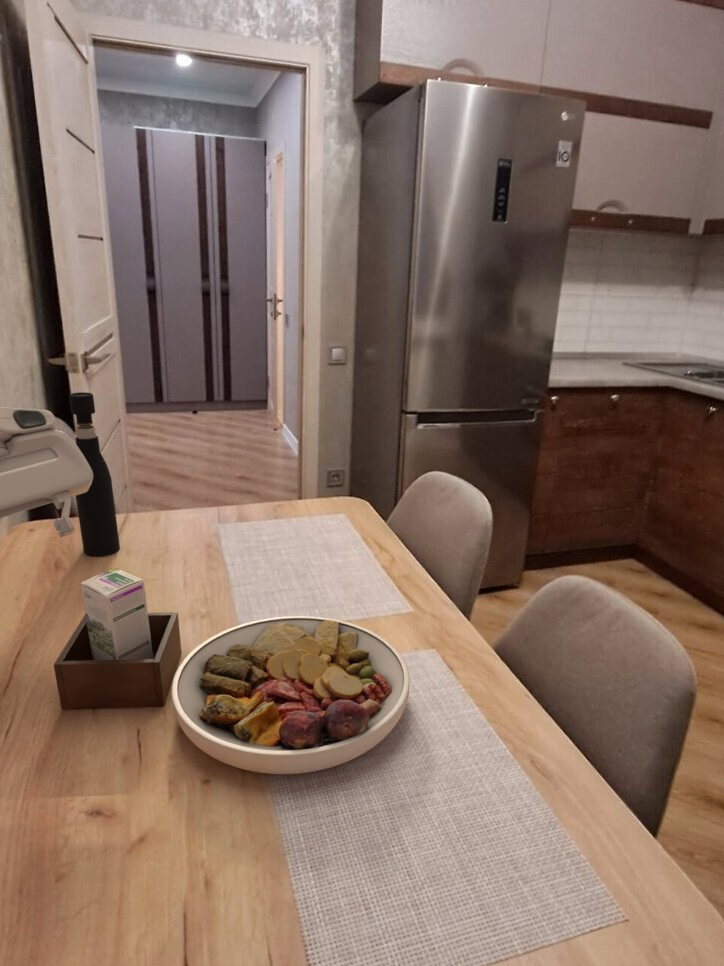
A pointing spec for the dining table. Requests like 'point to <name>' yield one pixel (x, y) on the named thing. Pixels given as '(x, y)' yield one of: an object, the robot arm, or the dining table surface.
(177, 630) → the box
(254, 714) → the bowl
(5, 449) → the robot arm
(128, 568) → the dining table surface
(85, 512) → the black water bottle
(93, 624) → the syrup box
